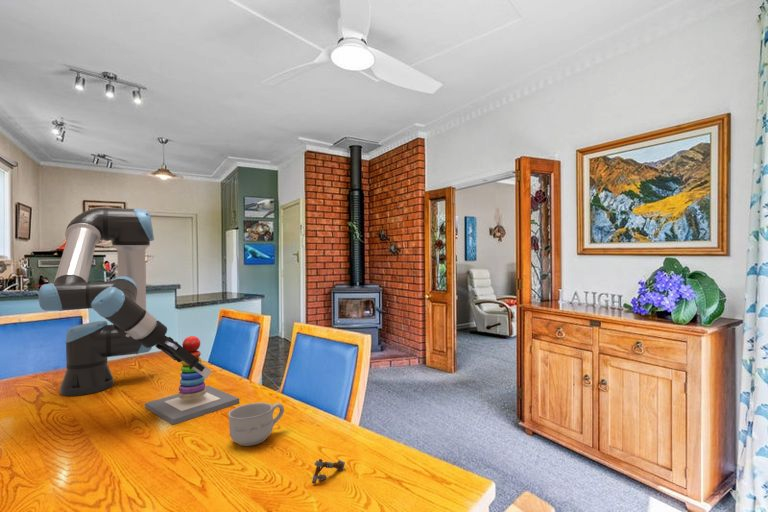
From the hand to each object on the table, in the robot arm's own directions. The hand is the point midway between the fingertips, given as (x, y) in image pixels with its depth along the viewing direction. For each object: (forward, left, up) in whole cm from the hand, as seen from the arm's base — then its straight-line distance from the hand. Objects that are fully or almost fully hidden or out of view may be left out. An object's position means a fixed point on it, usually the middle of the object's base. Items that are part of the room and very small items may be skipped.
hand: (203, 372), depth 124 cm
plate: (0, -4, -9) cm, 10 cm away
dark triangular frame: (+63, -4, -10) cm, 64 cm away
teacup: (+36, -4, -10) cm, 37 cm away
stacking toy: (0, -4, -7) cm, 8 cm away
